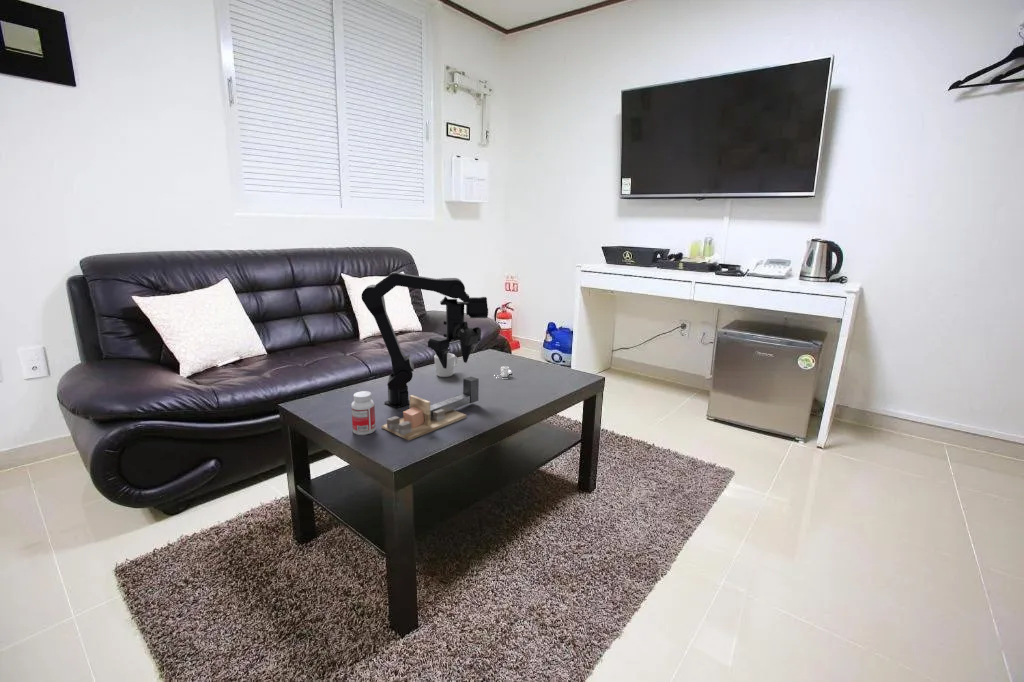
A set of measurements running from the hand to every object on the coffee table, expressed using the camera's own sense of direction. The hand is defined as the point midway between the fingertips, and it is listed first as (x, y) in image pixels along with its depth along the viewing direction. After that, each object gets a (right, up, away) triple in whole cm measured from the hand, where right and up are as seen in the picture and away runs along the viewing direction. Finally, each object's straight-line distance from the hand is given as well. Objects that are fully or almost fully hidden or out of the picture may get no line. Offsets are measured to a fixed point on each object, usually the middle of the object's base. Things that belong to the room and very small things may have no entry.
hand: (455, 365), depth 155 cm
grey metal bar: (-1, -13, -7) cm, 15 cm away
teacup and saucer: (+19, -6, +31) cm, 37 cm away
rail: (-7, -16, -14) cm, 23 cm away
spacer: (-10, -16, -18) cm, 26 cm away
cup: (-7, -5, +31) cm, 32 cm away
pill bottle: (-23, -18, -21) cm, 36 cm away
